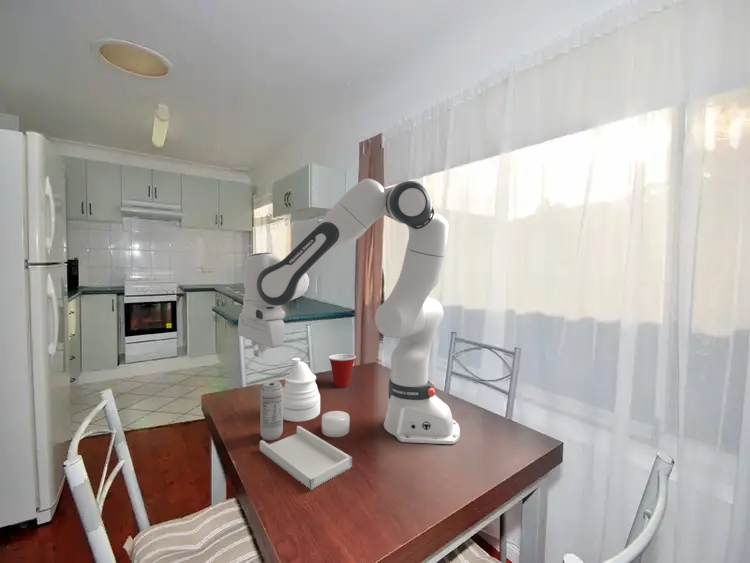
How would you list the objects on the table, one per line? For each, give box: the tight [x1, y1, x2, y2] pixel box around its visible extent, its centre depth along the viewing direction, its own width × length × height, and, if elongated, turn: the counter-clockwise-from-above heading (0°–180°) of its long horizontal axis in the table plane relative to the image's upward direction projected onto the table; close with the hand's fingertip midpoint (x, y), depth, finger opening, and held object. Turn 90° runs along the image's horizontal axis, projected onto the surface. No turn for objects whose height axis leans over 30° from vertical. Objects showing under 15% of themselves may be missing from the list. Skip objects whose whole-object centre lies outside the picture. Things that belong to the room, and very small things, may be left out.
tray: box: [259, 425, 353, 491], centre depth 85 cm, size 22×12×2 cm, turn 47°
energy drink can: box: [259, 379, 284, 441], centre depth 96 cm, size 6×6×15 cm
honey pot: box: [282, 357, 321, 423], centre depth 111 cm, size 13×13×18 cm
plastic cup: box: [328, 353, 357, 389], centre depth 136 cm, size 11×11×12 cm
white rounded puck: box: [321, 410, 351, 438], centre depth 100 cm, size 8×8×4 cm
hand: (258, 356), depth 100 cm, fingers closed
